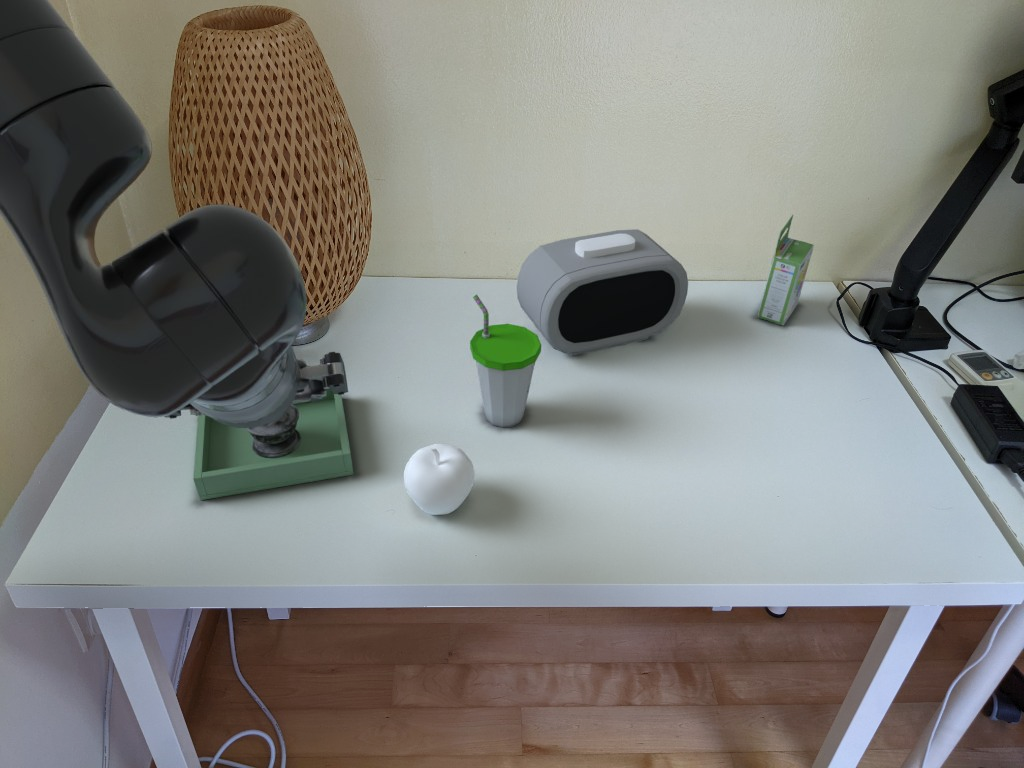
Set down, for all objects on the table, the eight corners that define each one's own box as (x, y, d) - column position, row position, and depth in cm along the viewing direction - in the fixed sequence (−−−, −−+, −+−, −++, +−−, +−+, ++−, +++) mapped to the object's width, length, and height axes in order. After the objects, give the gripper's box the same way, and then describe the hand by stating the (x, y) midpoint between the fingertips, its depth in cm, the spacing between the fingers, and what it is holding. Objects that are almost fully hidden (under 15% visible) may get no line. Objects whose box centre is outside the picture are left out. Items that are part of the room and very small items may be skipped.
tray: (200, 500, 79) (193, 478, 77) (205, 417, 90) (199, 396, 88) (353, 474, 83) (350, 453, 81) (341, 398, 93) (338, 377, 91)
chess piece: (314, 435, 87) (299, 347, 80) (279, 466, 83) (259, 377, 75) (273, 418, 89) (255, 331, 82) (237, 449, 85) (214, 360, 77)
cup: (548, 426, 90) (555, 317, 81) (486, 444, 87) (486, 333, 78) (520, 388, 95) (524, 282, 86) (461, 403, 93) (458, 295, 84)
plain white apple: (391, 503, 80) (385, 445, 75) (441, 468, 84) (438, 411, 79) (439, 539, 76) (436, 480, 71) (488, 500, 80) (488, 442, 75)
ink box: (784, 327, 108) (808, 239, 100) (756, 318, 109) (777, 232, 101) (797, 305, 112) (822, 220, 104) (771, 297, 114) (792, 213, 106)
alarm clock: (543, 367, 99) (548, 274, 91) (515, 328, 106) (518, 239, 98) (681, 336, 105) (698, 247, 97) (646, 301, 112) (659, 216, 104)
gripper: (338, 300, 54) (340, 345, 69) (116, 325, 51) (171, 366, 66) (353, 406, 53) (352, 427, 69) (129, 438, 50) (182, 453, 65)
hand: (263, 397), depth 67 cm, fingers open, 8 cm apart
